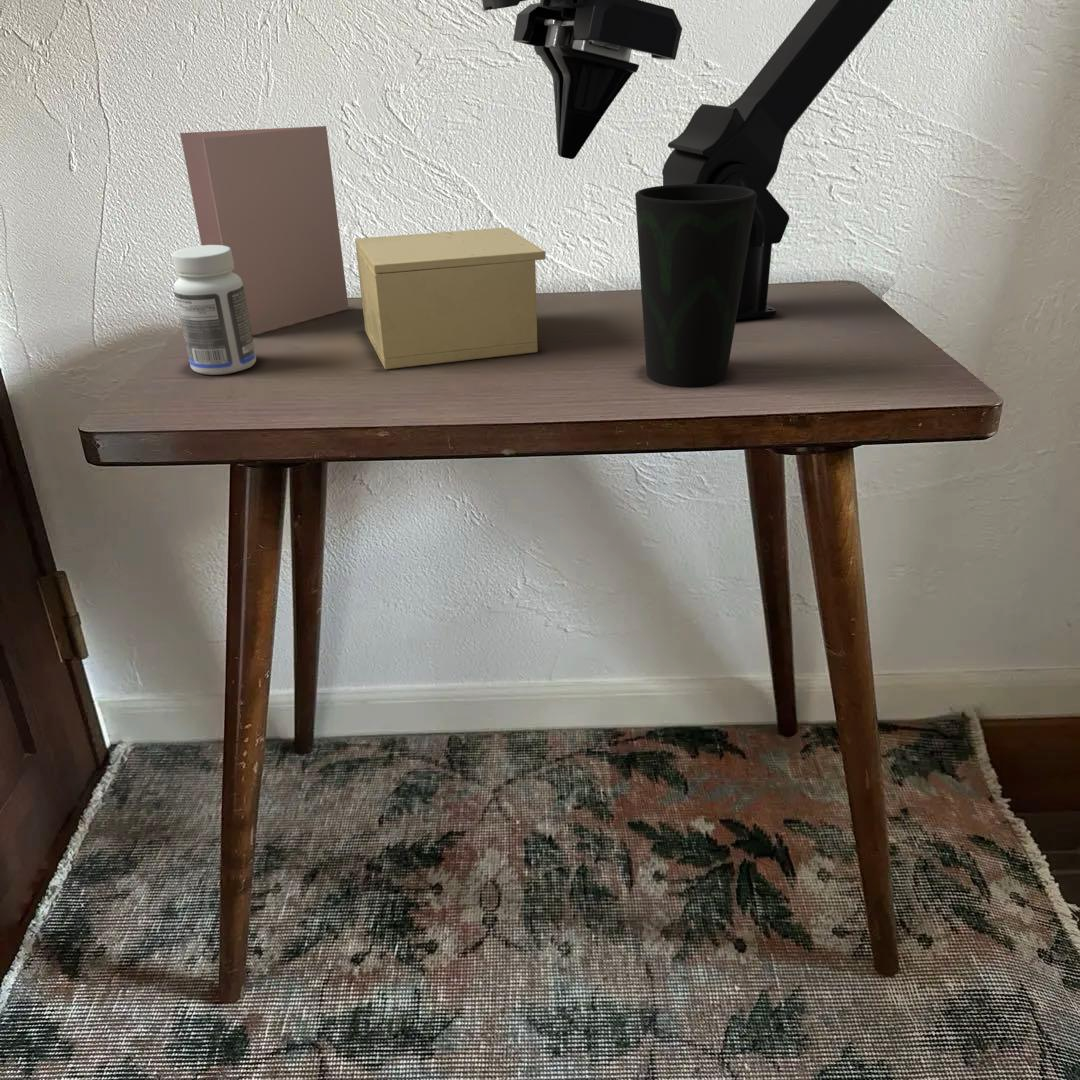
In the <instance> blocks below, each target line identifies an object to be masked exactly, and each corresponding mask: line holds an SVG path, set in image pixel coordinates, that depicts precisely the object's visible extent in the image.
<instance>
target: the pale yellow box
mask: <svg viewBox="0 0 1080 1080" xmlns="http://www.w3.org/2000/svg"><path fill="white" fill-rule="evenodd" d="M355 249H356V250H355V252H356V261H357V269H358V279H359V287H360V295H361V296H360V297H361V306H362V312H363V313H362V314H363V322H364V330H365V334H366V335H367V337H368V339H369V341H370V343H371V345H372V347H373V349H374V351H375V353H376V355H377V356H378V359H379V360H380V362H381V364H382V366H383V368H384V370H393V369H401V368H410V367H419V366H427V365H428V366H429V365H436V364H437V365H438V364H444V363H454V362H462V361H463V362H464V361H471V360H480V359H488V358H497V357H499V358H500V357H507V356H516V355H525V354H532V353H533V354H534V353H538V351H539V350H538V318H537V317H538V313H537V312H538V311H537V310H538V309H537V276H536V274H537V273H536V260H532V261H520V262H508V263H496V264H484V265H472V266H460V267H448V268H436V269H424V270H412V271H400V272H388V273H376V274H375V273H374V271H373V270H372V269H371V267H370V266H369V264H368V263H367V261H366V260H365V259H364V257H363V256H362V254H361V253H360V251H359V250H358V248H357V247H356V246H355Z"/></svg>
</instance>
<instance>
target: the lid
mask: <svg viewBox="0 0 1080 1080" xmlns="http://www.w3.org/2000/svg"><path fill="white" fill-rule="evenodd" d="M354 243H355V248H356V247H357V248H358V250H359V251H360V253H361V254H362V256H363V257H364V259H365V260H366V261H367V263H368V264H369V266H370V267H371V269H372V270H373V271H374V273H375V274H376V273H388V272H400V271H412V270H424V269H436V268H448V267H460V266H472V265H484V264H496V263H508V262H520V261H532V260H535V261H543V260H546V258H547V255H546V254H547V251H546V250H544V249H542V248H541V247H540V246H538V245H537V244H535V243H533V242H531V241H530V240H528V239H527V238H525V237H524V236H522V235H520V234H519V233H517V232H515V231H514V230H512V229H510V227H507V226H506V227H494V228H482V229H481V228H479V229H468V230H467V229H466V230H453V231H439V232H426V233H425V232H424V233H412V234H398V235H386V236H376V237H375V236H374V237H359V238H358V237H357V238H355V239H354Z"/></svg>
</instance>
